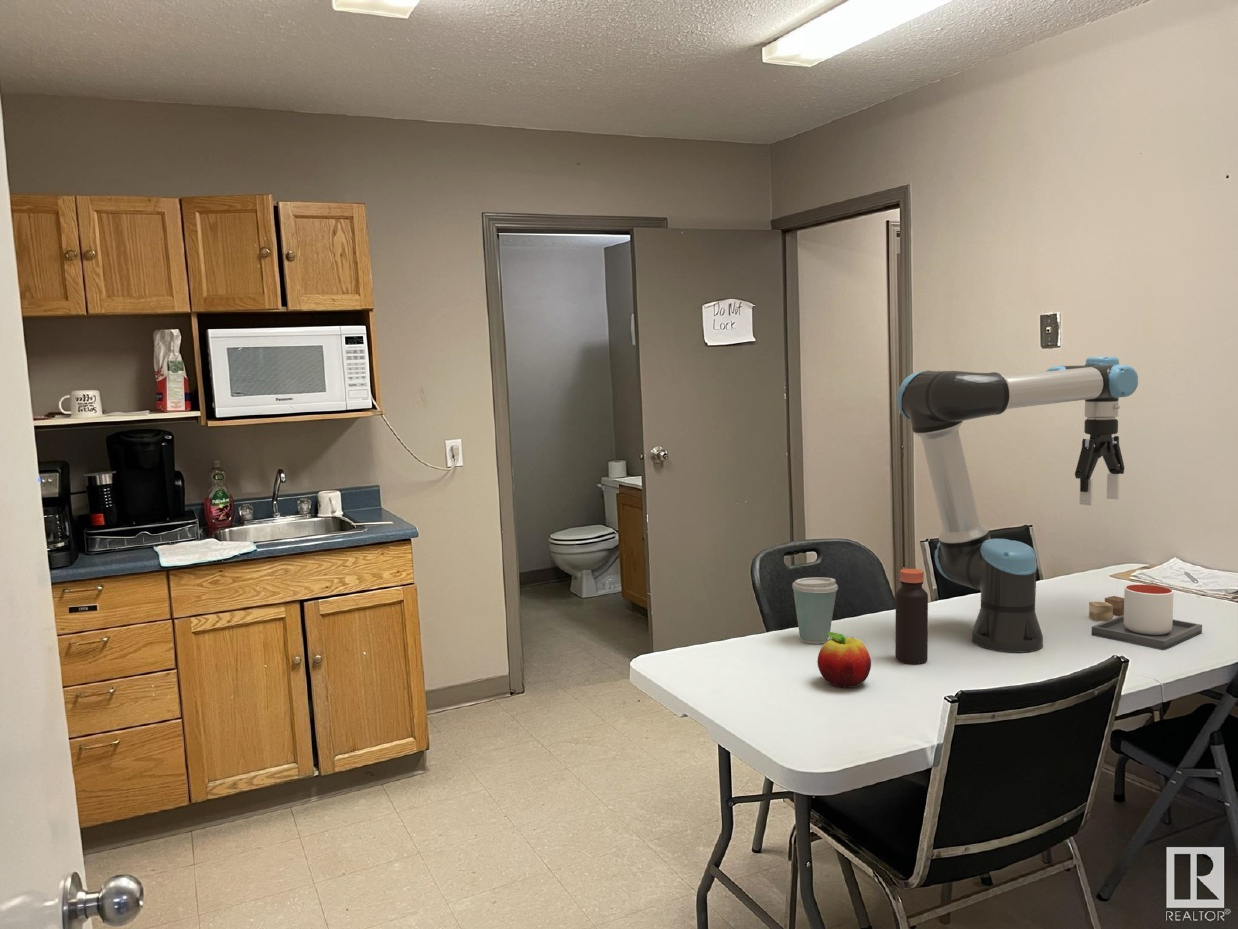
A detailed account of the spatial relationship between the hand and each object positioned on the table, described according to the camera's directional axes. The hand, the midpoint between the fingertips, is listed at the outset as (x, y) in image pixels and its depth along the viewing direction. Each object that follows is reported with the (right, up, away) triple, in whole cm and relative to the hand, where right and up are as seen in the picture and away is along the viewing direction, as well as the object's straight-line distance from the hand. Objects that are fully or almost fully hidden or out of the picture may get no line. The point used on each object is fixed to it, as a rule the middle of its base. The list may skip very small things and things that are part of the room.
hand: (1099, 502), depth 234 cm
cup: (+3, -30, -16) cm, 34 cm away
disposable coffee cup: (-75, -33, -14) cm, 83 cm away
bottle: (-58, -34, -31) cm, 73 cm away
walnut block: (+5, -29, +2) cm, 29 cm away
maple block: (-1, -29, -2) cm, 29 cm away
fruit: (-76, -36, -44) cm, 95 cm away
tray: (+3, -31, -16) cm, 35 cm away
